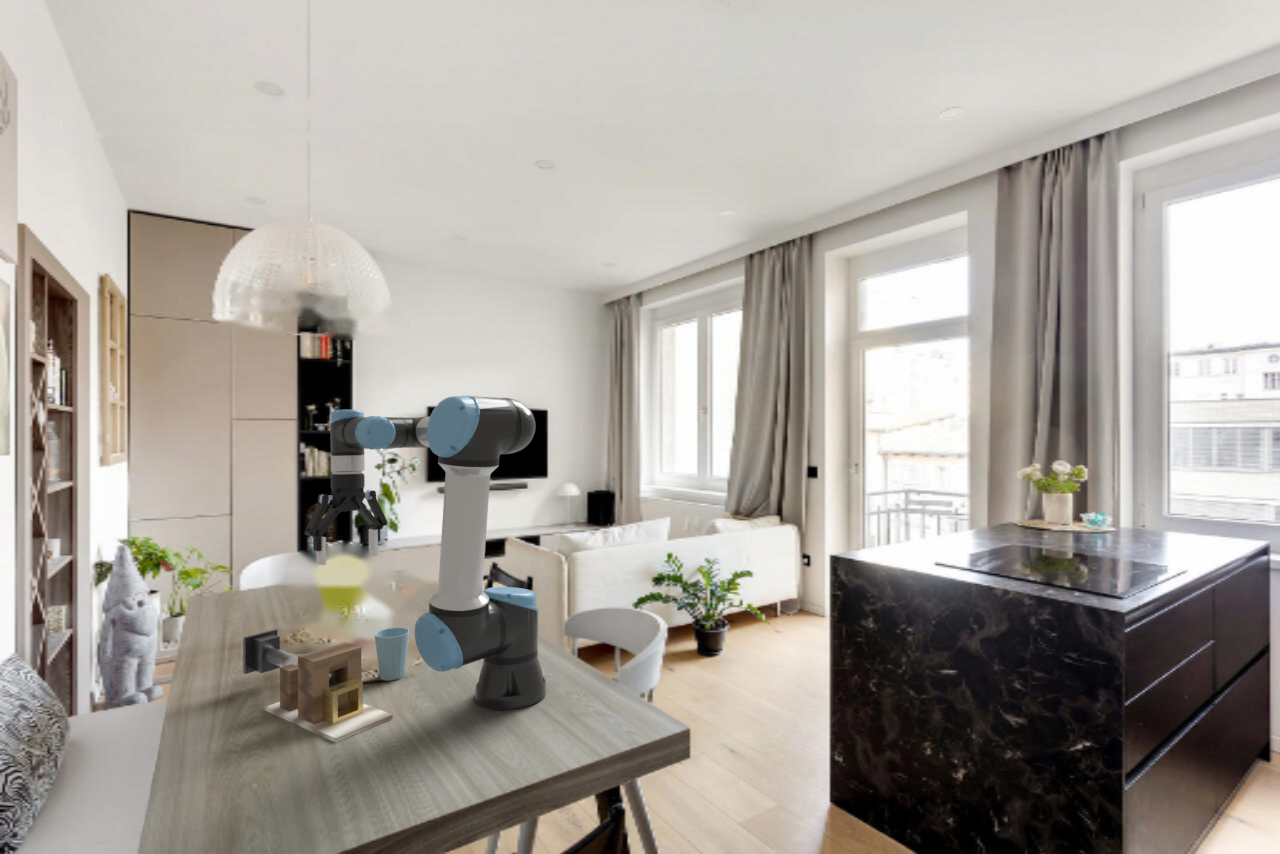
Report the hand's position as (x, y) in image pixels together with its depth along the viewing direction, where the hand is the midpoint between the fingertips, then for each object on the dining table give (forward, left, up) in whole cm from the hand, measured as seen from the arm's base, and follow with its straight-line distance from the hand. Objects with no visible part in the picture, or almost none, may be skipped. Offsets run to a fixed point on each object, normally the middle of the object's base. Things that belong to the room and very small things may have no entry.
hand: (348, 559), depth 157 cm
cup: (-13, -3, -27) cm, 30 cm away
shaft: (-7, +17, -23) cm, 29 cm away
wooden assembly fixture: (-21, +17, -27) cm, 38 cm away
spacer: (-26, +17, -23) cm, 38 cm away
